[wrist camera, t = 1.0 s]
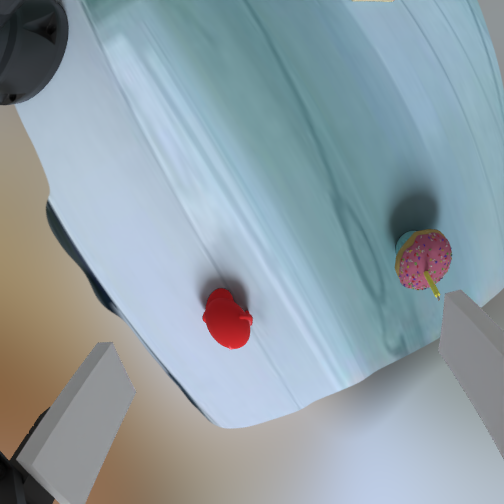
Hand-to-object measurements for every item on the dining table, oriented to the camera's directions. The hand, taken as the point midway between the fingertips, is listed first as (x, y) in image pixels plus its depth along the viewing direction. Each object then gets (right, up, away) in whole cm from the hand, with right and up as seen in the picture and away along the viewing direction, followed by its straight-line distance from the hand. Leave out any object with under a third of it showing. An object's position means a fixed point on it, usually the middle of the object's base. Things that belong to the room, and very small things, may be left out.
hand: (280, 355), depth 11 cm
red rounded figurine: (-4, -4, +34) cm, 34 cm away
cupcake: (+21, +5, +31) cm, 38 cm away
